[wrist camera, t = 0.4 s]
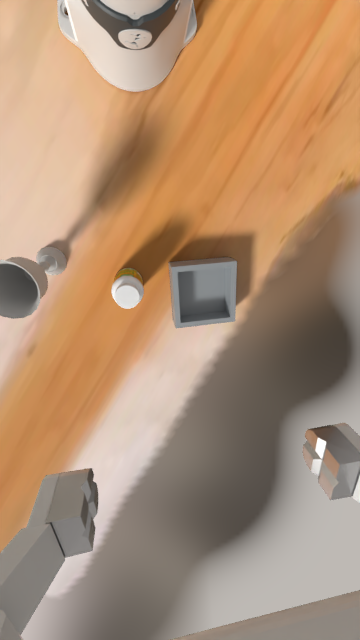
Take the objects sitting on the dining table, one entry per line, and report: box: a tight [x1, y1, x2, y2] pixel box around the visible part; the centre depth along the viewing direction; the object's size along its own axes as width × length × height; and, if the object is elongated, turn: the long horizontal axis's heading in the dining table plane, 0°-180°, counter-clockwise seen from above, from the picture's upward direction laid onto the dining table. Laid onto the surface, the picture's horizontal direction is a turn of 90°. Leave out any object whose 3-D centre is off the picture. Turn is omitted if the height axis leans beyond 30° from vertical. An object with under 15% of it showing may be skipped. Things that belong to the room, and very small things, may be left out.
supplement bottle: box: [112, 268, 144, 309], centre depth 47 cm, size 5×5×10 cm
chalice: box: [0, 247, 67, 318], centre depth 39 cm, size 7×7×18 cm
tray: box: [169, 257, 237, 328], centre depth 52 cm, size 12×12×4 cm
